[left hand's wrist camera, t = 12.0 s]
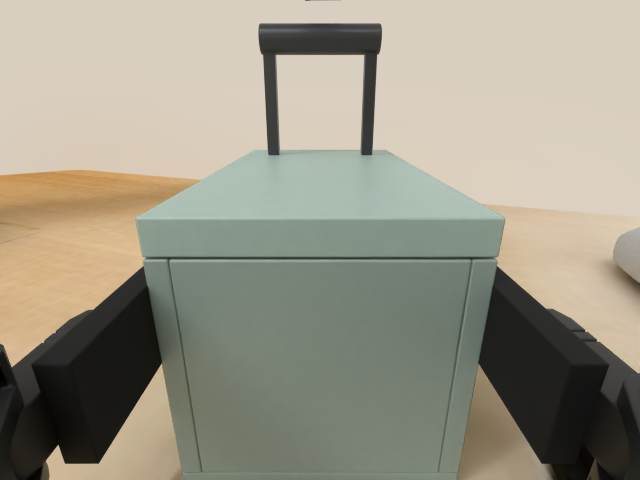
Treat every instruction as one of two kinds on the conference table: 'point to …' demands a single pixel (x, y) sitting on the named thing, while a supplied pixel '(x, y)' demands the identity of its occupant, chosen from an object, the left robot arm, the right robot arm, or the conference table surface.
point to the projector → (629, 253)
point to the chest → (320, 363)
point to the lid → (320, 187)
